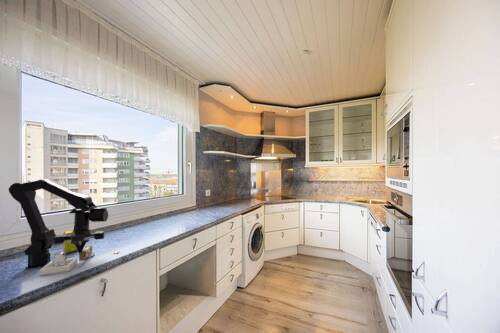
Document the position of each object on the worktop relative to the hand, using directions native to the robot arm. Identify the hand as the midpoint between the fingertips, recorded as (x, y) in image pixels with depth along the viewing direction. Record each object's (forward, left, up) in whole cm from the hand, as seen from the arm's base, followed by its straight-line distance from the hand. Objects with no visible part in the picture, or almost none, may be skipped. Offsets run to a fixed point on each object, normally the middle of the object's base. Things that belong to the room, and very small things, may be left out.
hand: (80, 255), depth 102 cm
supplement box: (-10, +19, -3) cm, 21 cm away
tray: (-6, -6, -3) cm, 9 cm away
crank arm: (+2, +2, -2) cm, 3 cm away
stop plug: (-5, -6, -3) cm, 9 cm away
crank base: (+7, +7, -3) cm, 10 cm away
